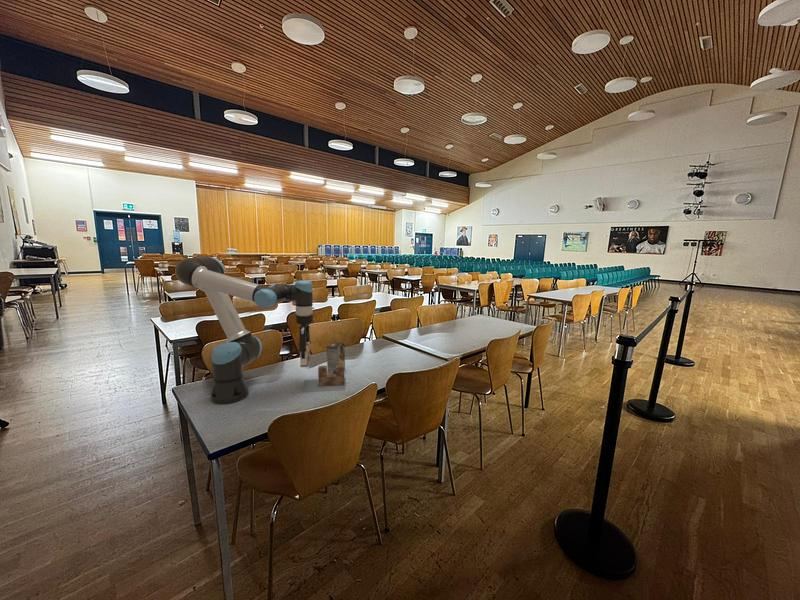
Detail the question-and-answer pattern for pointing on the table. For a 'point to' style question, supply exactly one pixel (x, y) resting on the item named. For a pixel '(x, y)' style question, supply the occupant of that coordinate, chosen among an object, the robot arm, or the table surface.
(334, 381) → the brown u-shaped block
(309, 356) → the oak plate
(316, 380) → the mat
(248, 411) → the table surface
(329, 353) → the coffee box
